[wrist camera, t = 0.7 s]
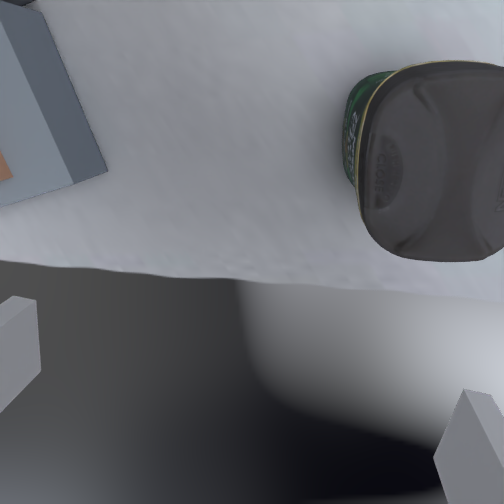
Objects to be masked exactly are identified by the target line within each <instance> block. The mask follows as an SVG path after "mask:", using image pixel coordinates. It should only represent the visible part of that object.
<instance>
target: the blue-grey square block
mask: <svg viewBox="0 0 504 504" xmlns="http://www.w3.org/2000/svg"><path fill="white" fill-rule="evenodd" d="M0 151H1V153H2V155H3V157H4V159H5V161H6V163H7V165H8V167H9V169H10V171H11V173H12V175H13V177H12V178H9V179H6V180H3V181H0V207H3V206H6V205H9V204H12V203H16V202H19V201H22V200H25V199H28V198H31V197H35V196H38V195H41V194H44V193H47V192H50V191H54V190H57V189H60V188H63V187H66V186H69V185H73V184H75V183H78V182H81V181H83V180H86V179H88V178H91V177H94V176H96V175H99V174H102V173H104V172H107V171H108V170H107V168H106V165H105V163H104V160H103V158H102V156H101V153H100V151H99V148H98V146H97V144H96V141H95V139H94V136H93V134H92V132H91V129H90V127H89V125H88V122H87V120H86V117H85V115H84V113H83V110H82V108H81V105H80V103H79V101H78V98H77V96H76V94H75V91H74V89H73V86H72V84H71V82H70V79H69V77H68V74H67V72H66V70H65V67H64V65H63V62H62V60H61V58H60V55H59V53H58V51H57V48H56V46H55V43H54V41H53V39H52V36H51V34H50V31H49V29H48V27H47V24H46V22H45V20H44V17H43V15H42V12H38V11H35V10H31V9H28V8H24V7H21V6H18V5H14V4H11V3H7V2H4V1H1V0H0Z"/></svg>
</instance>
